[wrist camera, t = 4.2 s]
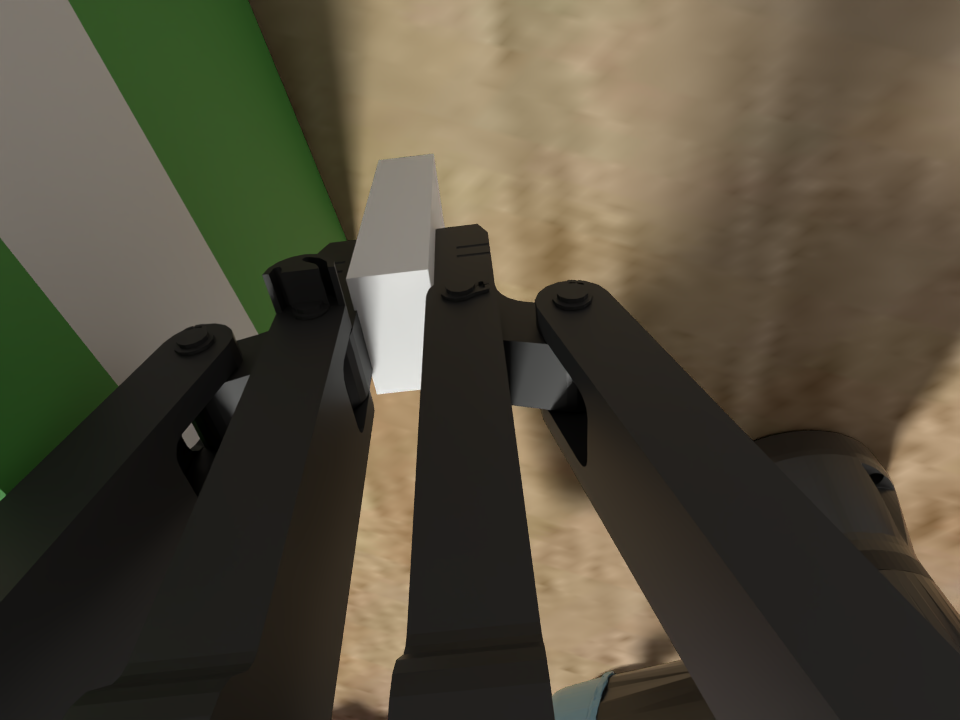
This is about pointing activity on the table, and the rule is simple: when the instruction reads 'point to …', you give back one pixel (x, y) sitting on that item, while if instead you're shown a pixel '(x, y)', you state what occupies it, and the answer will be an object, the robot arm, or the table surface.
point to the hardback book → (135, 197)
